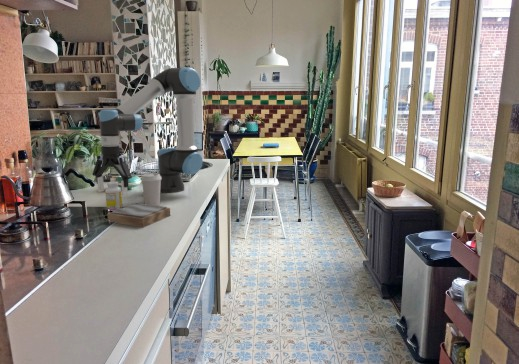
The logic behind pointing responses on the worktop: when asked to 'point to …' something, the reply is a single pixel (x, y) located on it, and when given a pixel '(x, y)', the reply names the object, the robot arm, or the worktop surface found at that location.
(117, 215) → the plinth
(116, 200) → the supplement bottle
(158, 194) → the coffee cup
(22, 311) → the worktop surface
